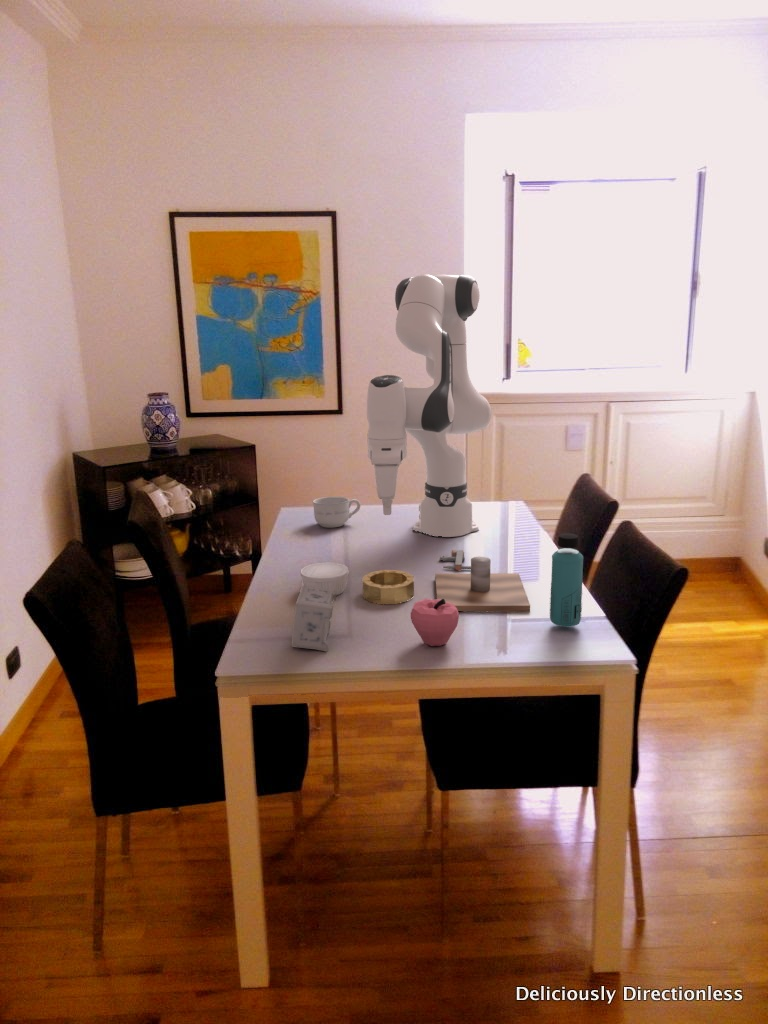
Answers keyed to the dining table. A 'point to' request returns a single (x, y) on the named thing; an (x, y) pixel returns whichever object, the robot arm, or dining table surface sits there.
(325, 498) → the teacup
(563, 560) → the beverage bottle
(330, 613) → the incense holder
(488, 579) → the piston stand
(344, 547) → the dining table surface
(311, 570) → the ramekin
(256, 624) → the dining table surface
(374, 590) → the wooden ring
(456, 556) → the clamp
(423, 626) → the apple
